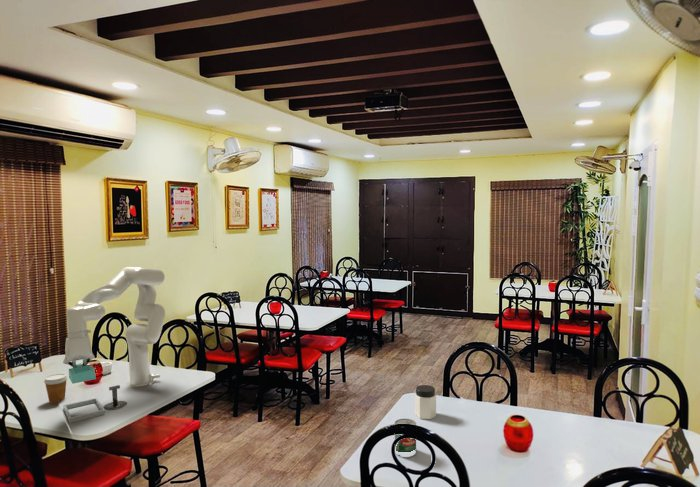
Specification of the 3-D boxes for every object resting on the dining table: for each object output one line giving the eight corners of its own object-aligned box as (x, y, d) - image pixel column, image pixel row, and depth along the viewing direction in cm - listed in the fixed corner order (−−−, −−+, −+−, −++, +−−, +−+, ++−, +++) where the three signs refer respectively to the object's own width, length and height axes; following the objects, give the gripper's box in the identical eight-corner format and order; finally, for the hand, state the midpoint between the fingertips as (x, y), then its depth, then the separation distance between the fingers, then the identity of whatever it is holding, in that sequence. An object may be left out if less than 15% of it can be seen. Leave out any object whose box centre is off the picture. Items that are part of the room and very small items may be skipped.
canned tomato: (408, 460, 175) (407, 430, 175) (390, 452, 181) (390, 423, 180) (420, 451, 181) (420, 422, 180) (403, 444, 187) (402, 416, 186)
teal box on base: (89, 370, 227) (89, 361, 226) (95, 379, 216) (95, 370, 215) (67, 374, 221) (66, 365, 221) (72, 383, 210) (71, 374, 210)
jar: (422, 409, 218) (422, 383, 217) (439, 414, 213) (439, 387, 212) (411, 416, 211) (411, 389, 210) (428, 421, 206) (428, 393, 205)
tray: (97, 404, 230) (96, 397, 229) (105, 416, 216) (104, 409, 215) (63, 411, 221) (63, 405, 221) (69, 425, 208) (69, 418, 207)
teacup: (104, 370, 277) (104, 361, 276) (115, 372, 274) (114, 362, 274) (89, 376, 267) (89, 366, 267) (100, 378, 265) (100, 368, 264)
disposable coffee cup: (44, 407, 227) (42, 381, 226) (46, 400, 236) (44, 375, 235) (68, 403, 231) (66, 378, 230) (69, 396, 240) (67, 372, 239)
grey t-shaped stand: (124, 401, 232) (123, 380, 231) (129, 408, 224) (128, 387, 223) (101, 407, 226) (100, 386, 225) (105, 414, 218) (104, 392, 217)
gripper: (95, 329, 228) (98, 368, 229) (55, 335, 218) (58, 376, 219) (99, 333, 222) (101, 373, 223) (58, 339, 212) (60, 381, 213)
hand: (80, 374), depth 221 cm, fingers closed on teal box on base, 2 cm apart
